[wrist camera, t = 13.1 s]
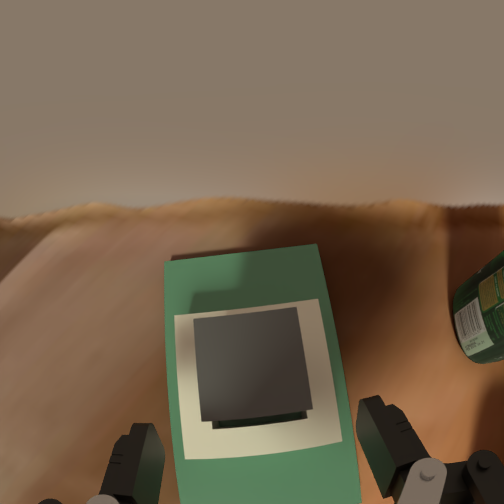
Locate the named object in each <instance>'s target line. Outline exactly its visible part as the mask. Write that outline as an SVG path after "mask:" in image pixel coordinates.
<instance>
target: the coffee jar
mask: <svg viewBox="0 0 504 504" xmlns="http://www.w3.org/2000/svg"><path fill="white" fill-rule="evenodd" d="M453 316H454V324H455V330H456V333H457V337H458V340H459V343H460V345H461V348H462V350H463V352H464V353H465V355H466V356H467V357H468V358H469V359H470V360H472V361H473V362H475V363H480V364H485V363H492V362H497V361H500V360H503V359H504V251H502V252H501V253H500V254H499V255H498V256H497V257H495V258H494V259H493V260H492V261H490V262H489V263H488V264H487V265H485V266H484V267H483V268H482V269H480V270H479V271H478V272H477V273H475V274H474V275H473V276H472V277H470V278H469V279H468V280H467V281H466V282H464V283H463V284H462V285H461V286H460V287H459V288H458V289H457V291H456V293H455V296H454V300H453Z"/></svg>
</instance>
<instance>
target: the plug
mask: <svg viewBox="0 0 504 504" xmlns="http://www.w3.org/2000/svg"><path fill="white" fill-rule="evenodd" d="M193 323H194V339H195V354H196V367H197V380H198V391H199V402H200V412H201V422H209V421H224V420H236V419H247V418H256V417H264V416H272V415H280V414H287V413H293V412H300V411H306V410H311V409H313V405H312V398H311V392H310V385H309V379H308V372H307V366H306V360H305V354H304V347H303V341H302V335H301V329H300V324H299V318H298V312H297V307H290V308H283V309H275V310H268V311H260V312H251V313H243V314H234V315H225V316H216V317H206V318H196V319H193Z"/></svg>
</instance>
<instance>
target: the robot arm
mask: <svg viewBox="0 0 504 504" xmlns="http://www.w3.org/2000/svg"><path fill="white" fill-rule="evenodd" d="M356 432H357V437H358V439H359V442H360V444H361V446H362V449H363V451H364V454H365V456H366V458H367V461H368V463H369V465H370V468H371V470H372V473H373V475H374V477H375V480H376V482H377V485H378V487H379V490H380V492H381V494H382V497H383V499H384V498H387V497H390V496H392V497H393V500H394V504H504V466H503V464H502V463H501V461H500V460H499V458H498V457H497V455H496V454H495V453H493V452H491V451H488V450H480V451H477V452H475V453H473V454H472V455H471V456H470V457H469V459H468V461H463V462H456V463H448V464H447V463H442V462H441V461H440V460H438V459H435V458H431V457H430V455H429V454H428V452H427V451H426V449H425V447H424V446H423V444H422V442H421V441H420V439H419V437H418V436H417V434H416V432H415V431H414V429H412V426H411V424H410V423H409V422H408V419H407V418H406V416H405V414H404V413H403V411H402V410H400V409H399V408H398V407H396V406H395V405H393V404H391V405H387V406H385V404H384V402H383V400H382V399H381V397H380V396H379V395H376V396H372V397H369V398H364V399H361V400H360V401H359V406H358V413H357V420H356ZM164 462H165V451H164V447H163V445H162V442H161V440H160V438H159V436H158V434H157V432H156V429H155V427H154V425H153V424H152V423H133V424H132V427H131V430H130V433H129V435H122V436H121V437H120V438H119V440H118V441H117V442H116V443H115V445H114V448H113V451H112V456H111V457H110V460H109V464H108V467H107V470H106V473H105V476H104V480H103V483H102V486H101V490H100V492H99V494H98V495H97V496H94V497H92V498H91V499H89V500H88V502H87V503H86V504H158V500H159V494H160V487H161V481H162V475H163V468H164ZM39 504H62V503H61V502H59V501H58V500H55V499H45V500H43V501H41V502H40V503H39Z"/></svg>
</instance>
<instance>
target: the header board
mask: <svg viewBox="0 0 504 504" xmlns="http://www.w3.org/2000/svg"><path fill="white" fill-rule="evenodd" d="M164 306H165V344H166V366H167V383H168V398H169V411H170V422H171V432H172V442H173V451H174V460H175V468H176V476H177V483H178V490H179V497H180V503H181V504H359V503H362V500H361V490H360V481H359V472H358V464H357V456H356V448H355V441H354V434H353V427H352V420H351V413H350V407H349V400H348V394H347V388H346V382H345V377H344V371H343V365H342V360H341V354H340V349H339V344H338V338H337V333H336V328H335V323H334V318H333V314H332V309H331V304H330V299H329V295H328V290H327V285H326V281H325V277H324V272H323V268H322V263H321V259H320V255H319V251H318V246H317V244H310V245H302V246H293V247H284V248H276V249H267V250H259V251H250V252H242V253H233V254H225V255H216V256H208V257H199V258H191V259H182V260H174V261H165V262H164ZM290 307H297V312H298V318H299V324H300V329H301V335H302V341H303V347H304V354H305V360H306V366H307V372H308V379H309V385H310V392H311V398H312V405H313V409H311V410H306V411H300V412H293V413H287V414H280V415H272V416H264V417H256V418H247V419H236V420H224V421H209V422H201V412H200V402H199V391H198V380H197V367H196V354H195V339H194V323H193V319H196V318H206V317H216V316H225V315H234V314H243V313H251V312H260V311H268V310H275V309H283V308H290Z"/></svg>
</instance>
